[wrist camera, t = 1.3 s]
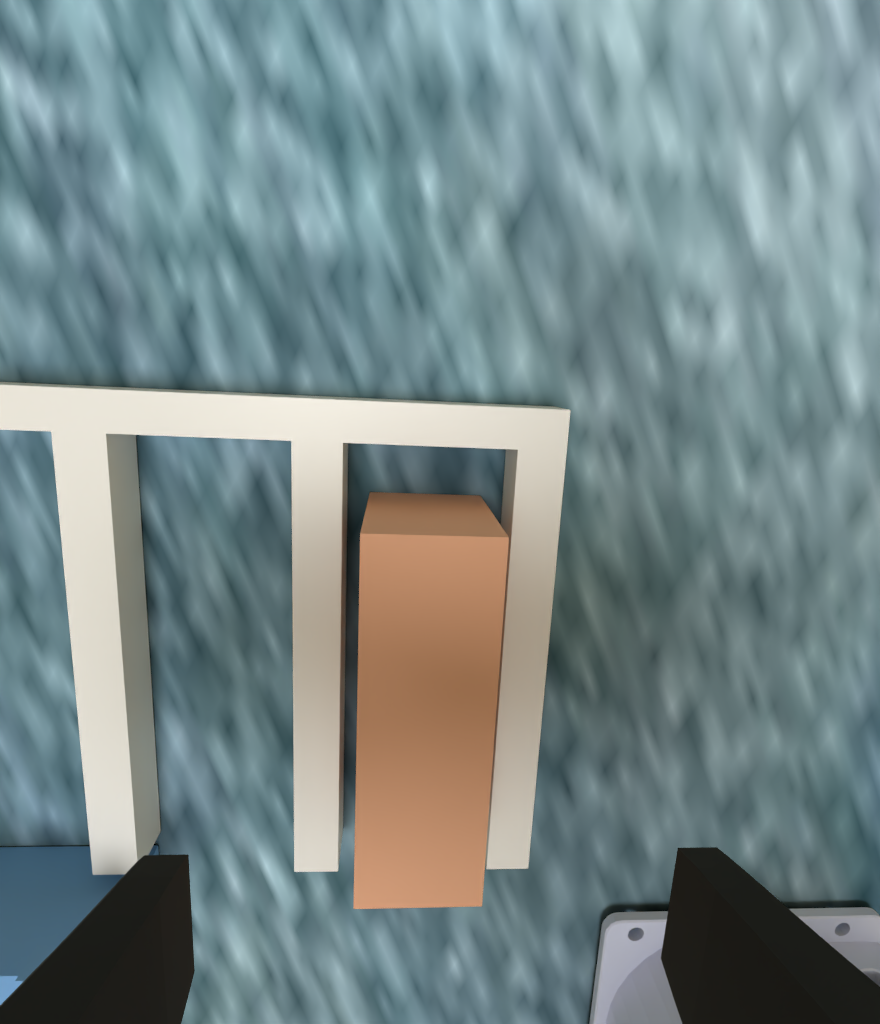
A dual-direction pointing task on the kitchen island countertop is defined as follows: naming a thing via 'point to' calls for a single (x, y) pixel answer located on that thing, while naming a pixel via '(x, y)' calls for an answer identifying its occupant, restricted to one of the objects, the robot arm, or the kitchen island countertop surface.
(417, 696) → the tall peach block
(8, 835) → the kitchen island countertop surface
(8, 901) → the blue bracket
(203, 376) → the kitchen island countertop surface
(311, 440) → the comb organizer
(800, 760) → the kitchen island countertop surface
